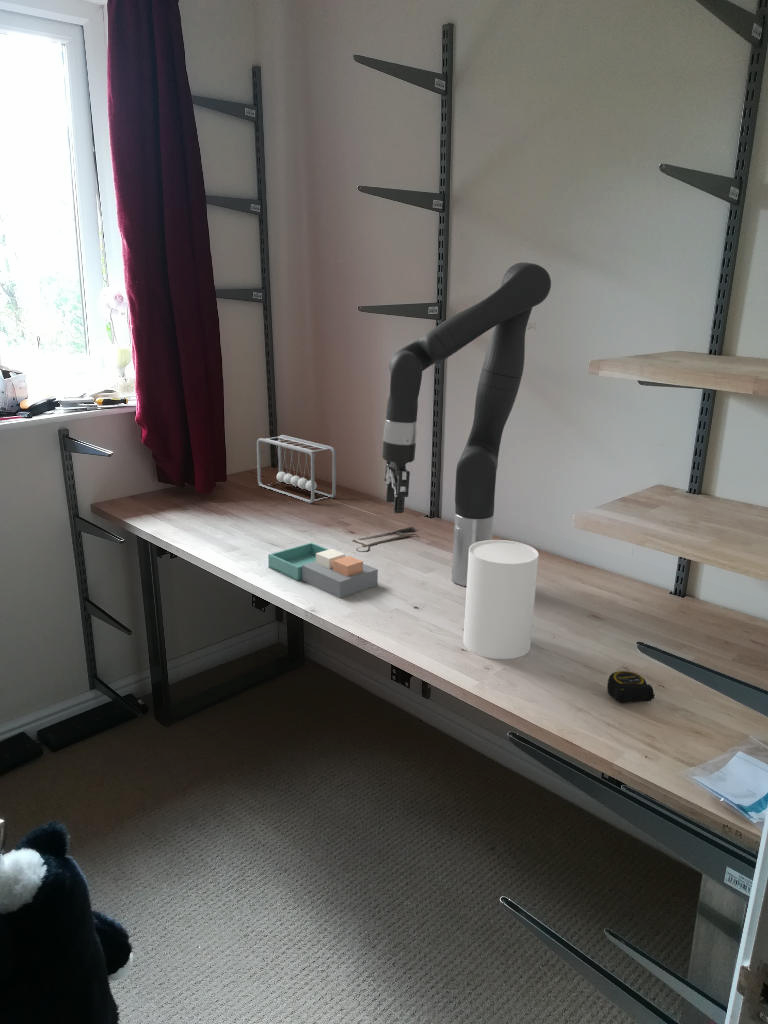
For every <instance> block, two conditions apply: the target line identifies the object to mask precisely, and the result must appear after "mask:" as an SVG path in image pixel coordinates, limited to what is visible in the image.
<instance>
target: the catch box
mask: <svg viewBox="0 0 768 1024" xmlns="http://www.w3.org/2000/svg"><path fill="white" fill-rule="evenodd" d="M329 549H330V548H326V547H324V546H321V545H319V544H317V543H314V542H308V543H306V544H305V543H304V544H302V545H298V546H294V547H291V548H287V549H284V550H283V549H282V550H280V551H275V552H273V553H269V554H268V557H267V559H268V568H269V569H271V570H273V571H275V572H277V573H280V574H282V575H283V576H285V577H288V578H290V579H293V580H295V581H296V582H300V581H302V565H304V564H308V563H311V562H314V561H316V553H319V552H322V551H326V550H329Z"/></svg>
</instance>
